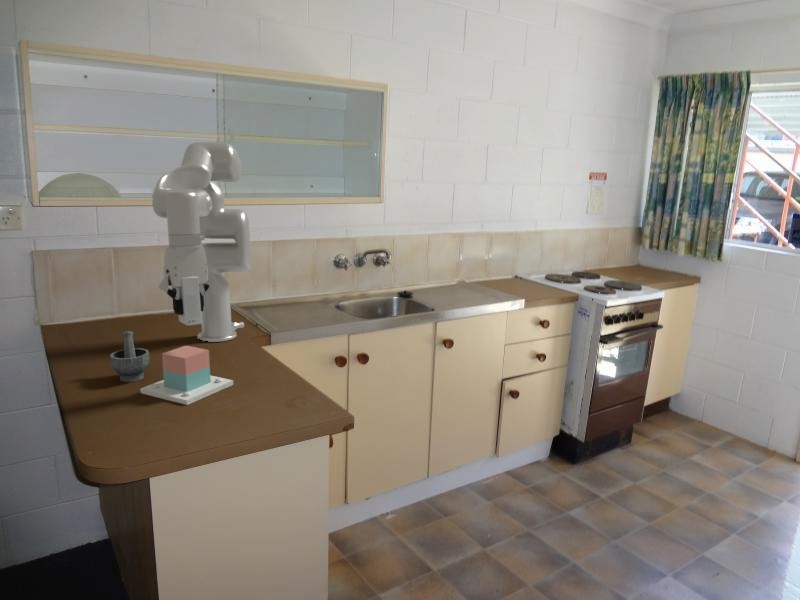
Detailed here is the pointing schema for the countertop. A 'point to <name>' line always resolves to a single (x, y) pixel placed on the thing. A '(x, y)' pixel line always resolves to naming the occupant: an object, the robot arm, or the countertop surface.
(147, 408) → the countertop surface
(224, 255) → the robot arm
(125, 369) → the mortar and pestle
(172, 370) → the block on square base
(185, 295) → the skincare box
